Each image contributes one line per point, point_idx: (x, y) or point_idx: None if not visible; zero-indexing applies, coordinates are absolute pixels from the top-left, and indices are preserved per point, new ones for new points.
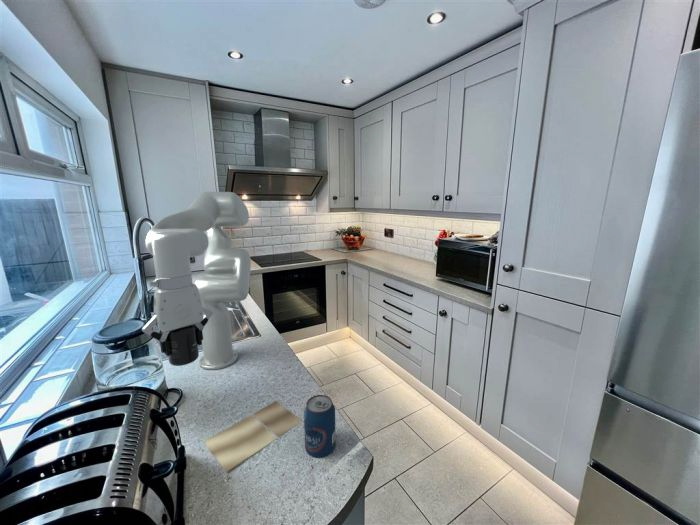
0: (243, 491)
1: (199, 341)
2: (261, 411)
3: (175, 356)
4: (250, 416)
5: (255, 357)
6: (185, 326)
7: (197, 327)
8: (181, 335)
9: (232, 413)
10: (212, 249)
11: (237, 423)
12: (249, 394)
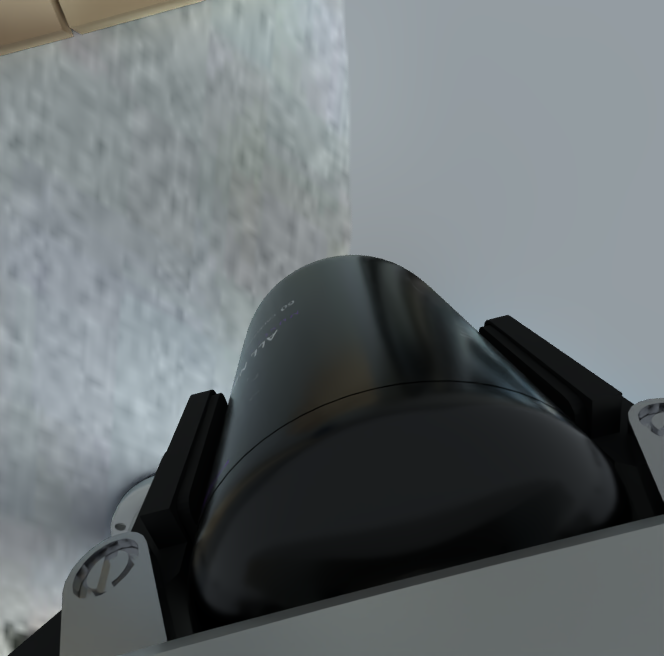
0: None
1: (205, 415)
2: (17, 23)
3: (437, 296)
4: (76, 17)
5: (38, 486)
6: (389, 585)
7: (161, 588)
8: (449, 389)
9: (165, 138)
10: None
11: (141, 2)
12: (81, 232)
